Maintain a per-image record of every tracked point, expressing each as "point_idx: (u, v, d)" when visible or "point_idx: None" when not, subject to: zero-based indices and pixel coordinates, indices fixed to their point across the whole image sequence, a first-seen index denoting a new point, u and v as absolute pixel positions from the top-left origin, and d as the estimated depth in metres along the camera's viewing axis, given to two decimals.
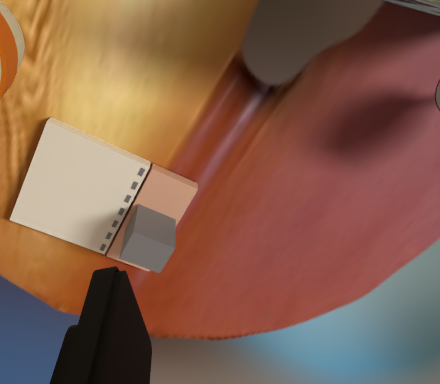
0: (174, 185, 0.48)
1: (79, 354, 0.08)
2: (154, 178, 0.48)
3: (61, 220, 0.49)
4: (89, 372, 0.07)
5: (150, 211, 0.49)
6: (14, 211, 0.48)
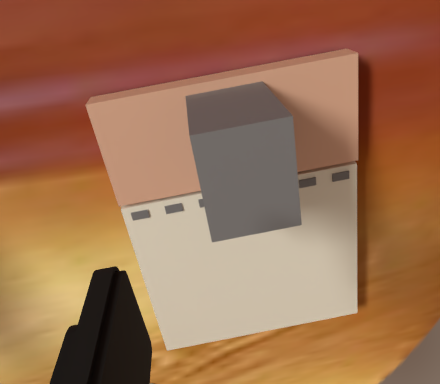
0: (116, 151, 0.22)
1: (79, 354, 0.08)
2: (133, 191, 0.23)
3: (319, 260, 0.27)
4: (89, 372, 0.07)
5: None
6: (337, 314, 0.29)
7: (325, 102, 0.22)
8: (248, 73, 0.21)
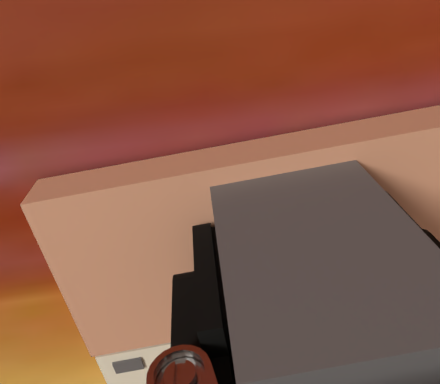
0: (83, 278, 0.12)
1: (204, 288, 0.09)
2: (114, 335, 0.13)
3: None
4: (219, 301, 0.08)
5: None
6: None
7: None
8: (330, 145, 0.11)
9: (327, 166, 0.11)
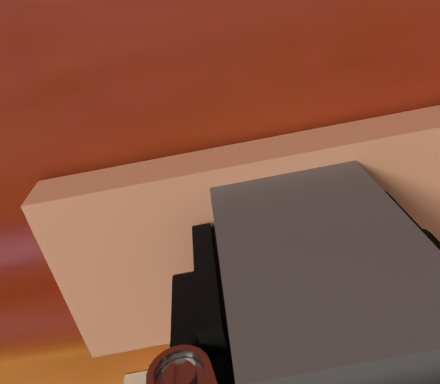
0: (83, 279, 0.12)
1: (204, 288, 0.09)
2: (116, 335, 0.13)
3: None
4: (219, 301, 0.08)
5: None
6: None
7: None
8: (330, 146, 0.11)
9: (327, 167, 0.11)
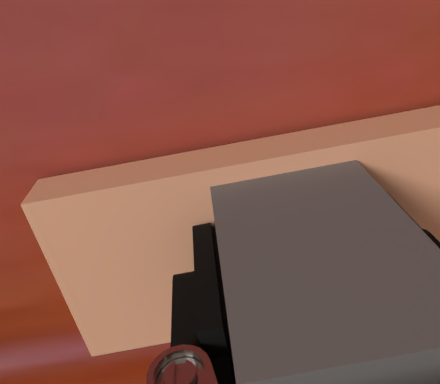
0: (83, 278, 0.12)
1: (204, 288, 0.09)
2: (115, 334, 0.13)
3: None
4: (219, 301, 0.08)
5: None
6: None
7: None
8: (330, 145, 0.11)
9: (327, 166, 0.11)
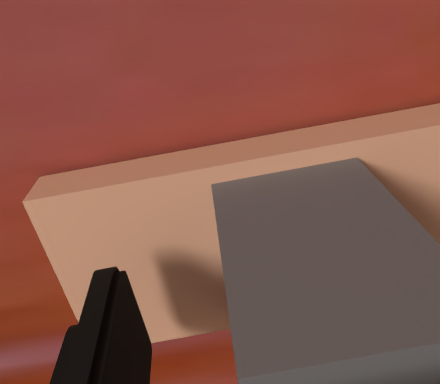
0: (84, 275, 0.12)
1: (79, 354, 0.08)
2: None
3: None
4: (89, 372, 0.07)
5: None
6: None
7: None
8: (331, 143, 0.11)
9: (328, 164, 0.11)
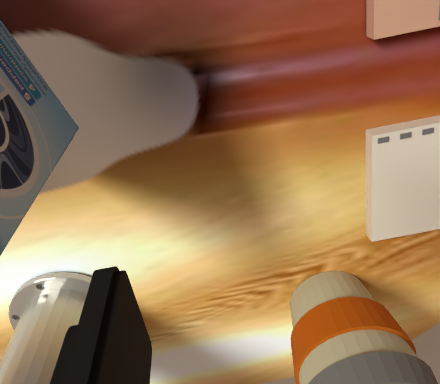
0: None
1: (79, 354, 0.08)
2: (387, 26, 0.31)
3: None
4: (89, 372, 0.07)
5: None
6: None
7: None
8: None
9: None
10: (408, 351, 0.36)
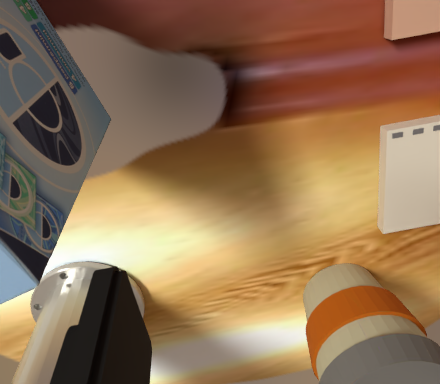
0: None
1: (79, 354, 0.08)
2: (404, 28, 0.34)
3: None
4: (89, 372, 0.07)
5: None
6: None
7: None
8: None
9: None
10: (422, 334, 0.38)
